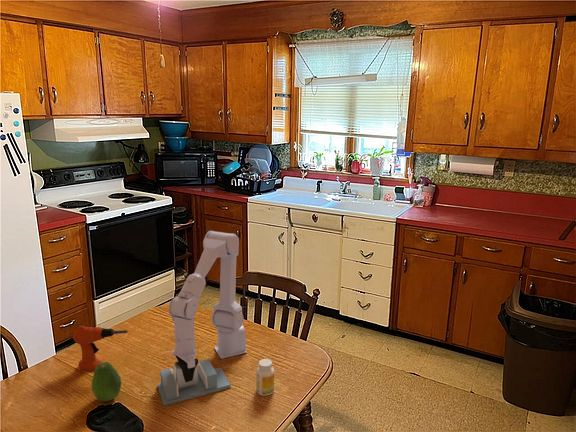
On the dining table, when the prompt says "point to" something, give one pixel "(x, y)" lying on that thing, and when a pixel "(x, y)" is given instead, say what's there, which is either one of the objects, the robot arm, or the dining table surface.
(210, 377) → the block
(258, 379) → the supplement bottle
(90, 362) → the toy drill
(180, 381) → the steel block
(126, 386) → the dining table surface
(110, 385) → the avocado
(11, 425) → the dining table surface
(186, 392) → the base
